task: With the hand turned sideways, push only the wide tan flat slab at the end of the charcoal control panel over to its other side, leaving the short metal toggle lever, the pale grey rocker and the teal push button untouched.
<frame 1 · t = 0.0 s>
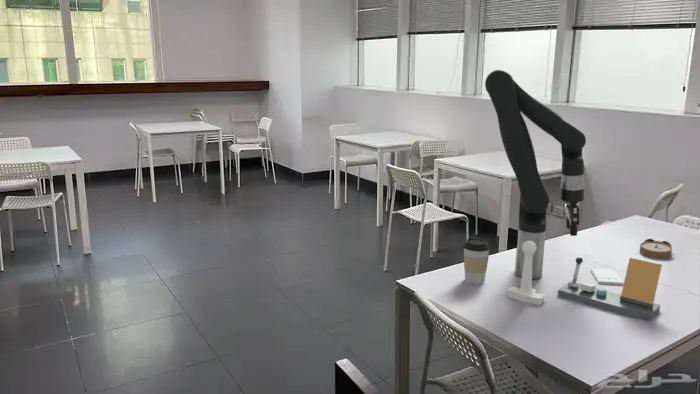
hand: (571, 231, 194), 17 cm above the table, tool pointing down, fingers open, 8 cm apart
tan flat slab: (640, 282, 171), point 9 cm above the table, hinge at -20.0°
panel: (606, 302, 177), on the table
push button: (601, 292, 178), point 3 cm above the table, slide at 0.0 cm
coffee cup: (474, 281, 196), on the table
external hard drive: (606, 279, 198), on the table
alarm clock: (655, 253, 224), on the table
joystick: (527, 298, 182), on the table
rocker: (587, 287, 181), point 3 cm above the table, hinge at -12.0°
toggle lever: (576, 272, 184), point 7 cm above the table, hinge at -20.0°
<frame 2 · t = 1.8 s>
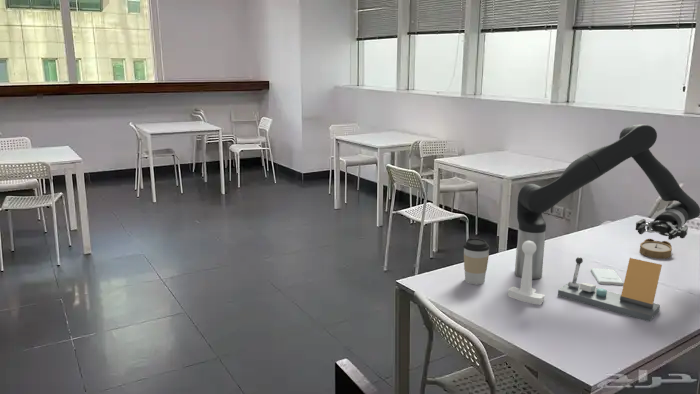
hand: (654, 233, 174), 22 cm above the table, tool horizontal, fingers open, 8 cm apart
nothing on the table moved.
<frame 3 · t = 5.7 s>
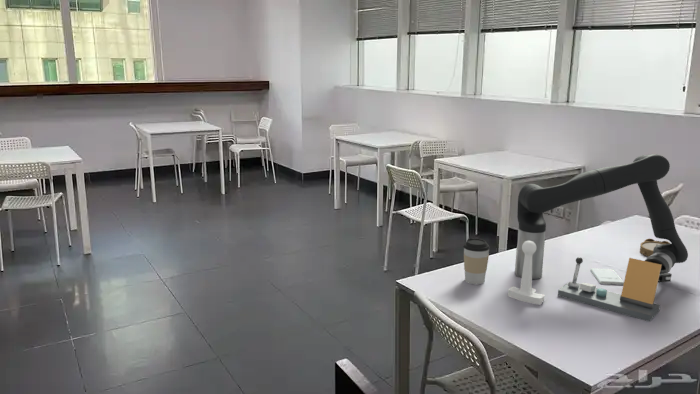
hand: (641, 280, 172), 9 cm above the table, tool horizontal, fingers closed
tan flat slab: (640, 282, 171), point 9 cm above the table, hinge at -18.0°, touching gripper
everything else where it was.
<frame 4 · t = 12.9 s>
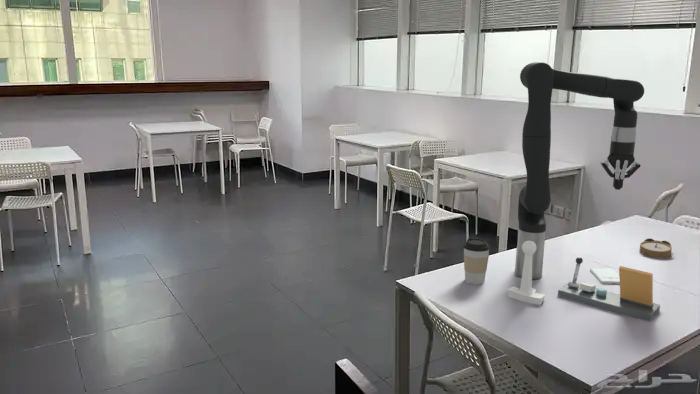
hand: (617, 189, 193), 32 cm above the table, tool pointing down, fingers closed
tan flat slab: (636, 287, 168), point 8 cm above the table, hinge at 24.0°
everything else where it was.
at the end: tan flat slab at +24° (first picture: -20°); toggle lever at -20° (first picture: -20°); rocker at -12° (first picture: -12°) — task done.
